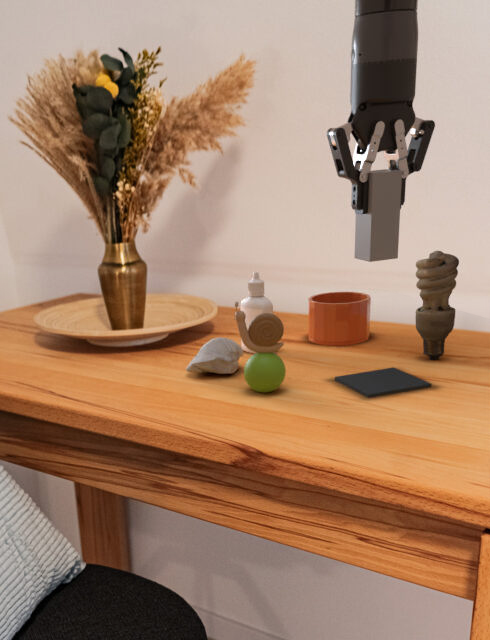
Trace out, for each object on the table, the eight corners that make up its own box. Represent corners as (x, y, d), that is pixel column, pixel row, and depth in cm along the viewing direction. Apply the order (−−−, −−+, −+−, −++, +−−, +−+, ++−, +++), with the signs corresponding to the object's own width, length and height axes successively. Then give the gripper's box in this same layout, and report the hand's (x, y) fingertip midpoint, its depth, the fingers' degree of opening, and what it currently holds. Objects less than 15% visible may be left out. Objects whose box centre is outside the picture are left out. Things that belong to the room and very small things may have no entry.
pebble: (242, 380, 117) (241, 344, 115) (184, 382, 118) (182, 347, 116) (244, 363, 125) (243, 330, 123) (190, 365, 126) (188, 332, 124)
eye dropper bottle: (247, 356, 128) (245, 276, 123) (239, 348, 133) (237, 270, 128) (275, 353, 129) (274, 273, 124) (266, 345, 134) (265, 268, 129)
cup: (350, 329, 139) (351, 289, 137) (380, 340, 131) (381, 298, 128) (298, 336, 137) (298, 296, 135) (325, 349, 129) (326, 306, 126)
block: (381, 254, 111) (385, 169, 106) (397, 258, 107) (402, 170, 103) (354, 258, 110) (356, 172, 105) (369, 261, 106) (373, 173, 102)
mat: (393, 371, 116) (393, 367, 115) (431, 388, 108) (431, 383, 107) (334, 381, 114) (334, 376, 113) (368, 398, 106) (368, 394, 105)
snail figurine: (237, 387, 114) (234, 298, 109) (284, 385, 114) (284, 295, 109) (236, 399, 110) (233, 306, 105) (286, 397, 109) (285, 303, 104)
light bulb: (422, 366, 117) (429, 255, 110) (403, 357, 121) (408, 250, 115) (459, 361, 118) (468, 250, 111) (438, 352, 122) (446, 246, 116)
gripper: (344, 59, 94) (341, 220, 101) (455, 52, 97) (444, 208, 104) (314, 65, 101) (313, 215, 108) (419, 58, 104) (411, 204, 111)
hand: (377, 211), depth 106 cm, fingers closed on block, 4 cm apart
